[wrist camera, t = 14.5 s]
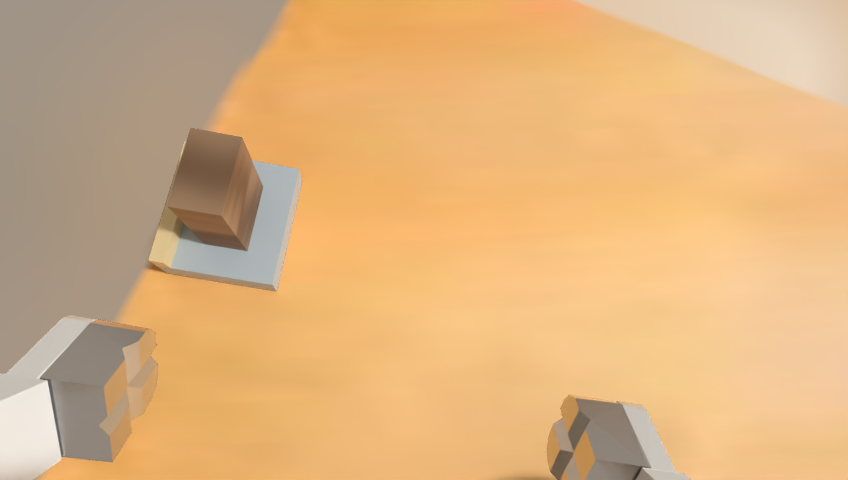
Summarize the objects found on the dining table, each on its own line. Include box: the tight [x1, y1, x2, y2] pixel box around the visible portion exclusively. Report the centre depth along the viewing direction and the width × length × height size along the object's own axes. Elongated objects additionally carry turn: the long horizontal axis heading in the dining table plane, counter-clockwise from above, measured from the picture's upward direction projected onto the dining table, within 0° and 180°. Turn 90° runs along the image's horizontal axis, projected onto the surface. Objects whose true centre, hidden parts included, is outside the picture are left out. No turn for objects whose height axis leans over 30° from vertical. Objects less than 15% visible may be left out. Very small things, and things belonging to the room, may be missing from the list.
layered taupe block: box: [167, 128, 263, 251], centre depth 35 cm, size 5×3×8 cm, turn 172°
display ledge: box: [148, 140, 302, 291], centre depth 39 cm, size 9×8×4 cm
